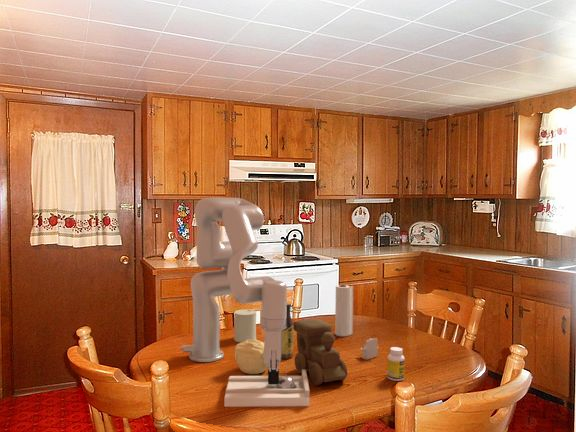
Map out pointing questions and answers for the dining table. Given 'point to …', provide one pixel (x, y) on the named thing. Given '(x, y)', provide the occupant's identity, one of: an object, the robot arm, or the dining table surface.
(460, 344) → the dining table surface
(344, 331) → the paper towel roll
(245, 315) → the can
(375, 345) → the architectural model
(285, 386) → the steel ball
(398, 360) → the supplement bottle
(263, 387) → the white tray
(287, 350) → the sauce bottle
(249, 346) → the sculpture
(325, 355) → the wooden toy train
